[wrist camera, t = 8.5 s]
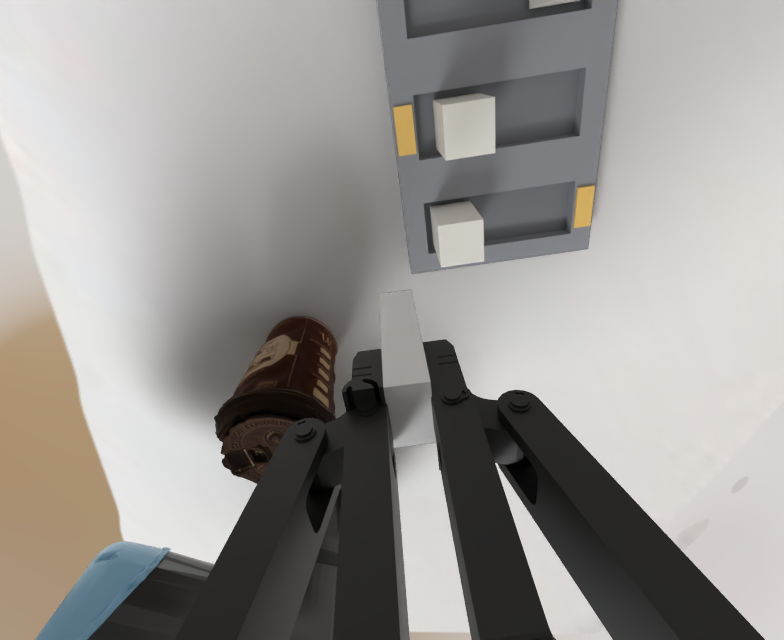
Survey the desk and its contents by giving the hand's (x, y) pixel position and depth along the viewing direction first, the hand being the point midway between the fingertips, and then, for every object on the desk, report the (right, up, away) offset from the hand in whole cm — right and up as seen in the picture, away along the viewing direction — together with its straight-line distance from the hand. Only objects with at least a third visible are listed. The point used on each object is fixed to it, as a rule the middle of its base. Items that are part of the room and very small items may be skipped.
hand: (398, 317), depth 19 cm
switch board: (+7, +14, +10) cm, 19 cm away
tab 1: (+4, +13, +9) cm, 16 cm away
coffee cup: (-9, -2, +20) cm, 22 cm away
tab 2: (+4, +7, +12) cm, 15 cm away
